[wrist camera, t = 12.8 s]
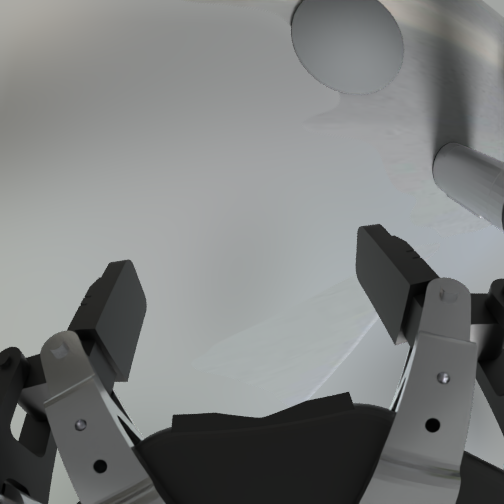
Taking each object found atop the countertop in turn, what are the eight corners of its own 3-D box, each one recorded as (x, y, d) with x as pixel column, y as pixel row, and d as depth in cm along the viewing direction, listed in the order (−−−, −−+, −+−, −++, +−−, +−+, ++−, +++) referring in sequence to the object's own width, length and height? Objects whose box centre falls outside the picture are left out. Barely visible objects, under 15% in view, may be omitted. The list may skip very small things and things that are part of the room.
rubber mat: (419, 65, 34) (421, 65, 34) (337, 115, 39) (339, 116, 38) (358, -27, 27) (360, -28, 26) (265, 19, 31) (266, 18, 31)
